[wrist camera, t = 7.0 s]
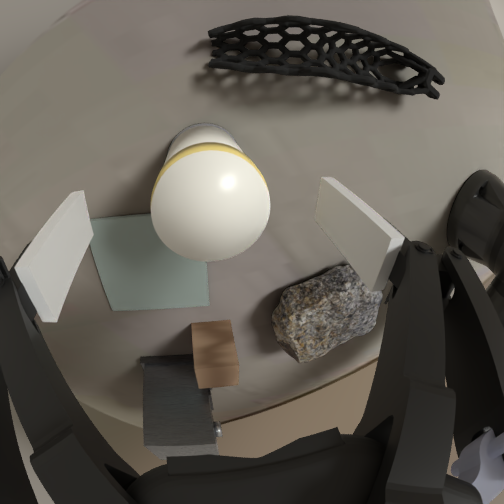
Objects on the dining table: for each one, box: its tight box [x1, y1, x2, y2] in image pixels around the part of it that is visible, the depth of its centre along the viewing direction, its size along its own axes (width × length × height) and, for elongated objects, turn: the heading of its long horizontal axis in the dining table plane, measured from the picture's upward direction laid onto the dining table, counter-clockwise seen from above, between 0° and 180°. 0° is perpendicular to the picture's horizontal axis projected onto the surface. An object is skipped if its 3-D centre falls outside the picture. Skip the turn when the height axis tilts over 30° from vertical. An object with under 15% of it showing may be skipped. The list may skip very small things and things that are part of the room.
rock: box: [272, 264, 383, 363], centre depth 33 cm, size 13×6×15 cm
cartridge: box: [150, 123, 270, 262], centre depth 18 cm, size 6×6×11 cm
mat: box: [90, 213, 210, 311], centre depth 27 cm, size 12×12×1 cm
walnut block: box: [191, 320, 239, 389], centre depth 32 cm, size 5×5×7 cm
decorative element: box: [208, 15, 445, 100], centre depth 16 cm, size 22×5×6 cm, turn 92°
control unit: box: [140, 354, 222, 460], centre depth 34 cm, size 10×10×14 cm
